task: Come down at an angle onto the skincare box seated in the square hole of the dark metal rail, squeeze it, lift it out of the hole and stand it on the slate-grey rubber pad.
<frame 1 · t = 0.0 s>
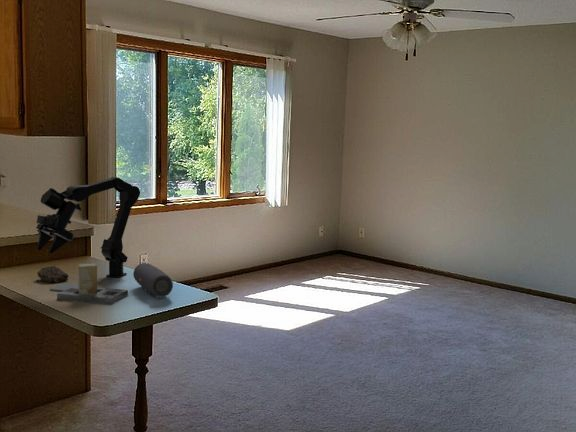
hand: (44, 251, 235), 15 cm above the table, tool tilted 35°, fingers open, 9 cm apart
concrete sample: (52, 280, 251), on the table
rail: (88, 296, 228), on the table
bluetooth speaker: (152, 293, 234), on the table
pad: (67, 288, 238), on the table
skincare box: (88, 297, 228), resting in rail
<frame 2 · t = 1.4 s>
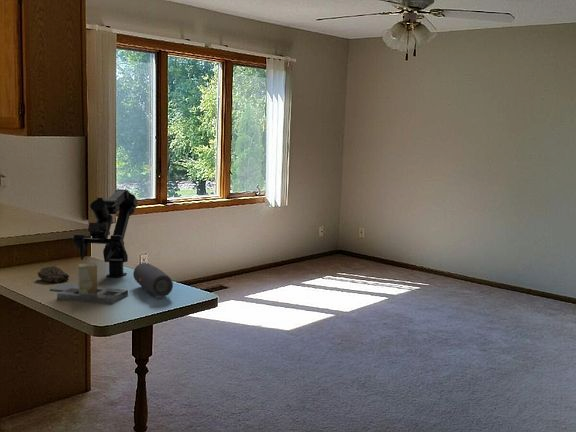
hand: (93, 259, 232), 13 cm above the table, tool tilted 45°, fingers open, 9 cm apart
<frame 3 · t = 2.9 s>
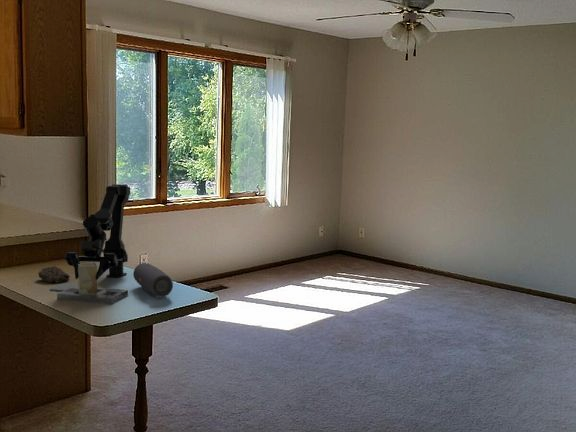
hand: (86, 278, 225), 7 cm above the table, tool tilted 45°, fingers closed on skincare box, 7 cm apart
skincare box: (88, 297, 228), resting in rail, touching gripper
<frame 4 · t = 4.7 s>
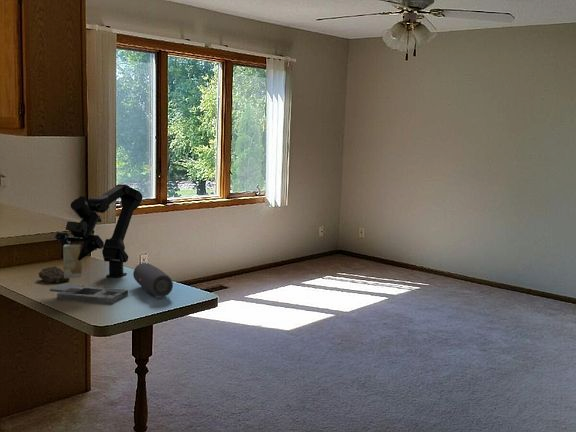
hand: (70, 259, 230), 13 cm above the table, tool tilted 45°, fingers closed on skincare box, 7 cm apart
skincare box: (73, 277, 233), point 6 cm above the table, touching gripper
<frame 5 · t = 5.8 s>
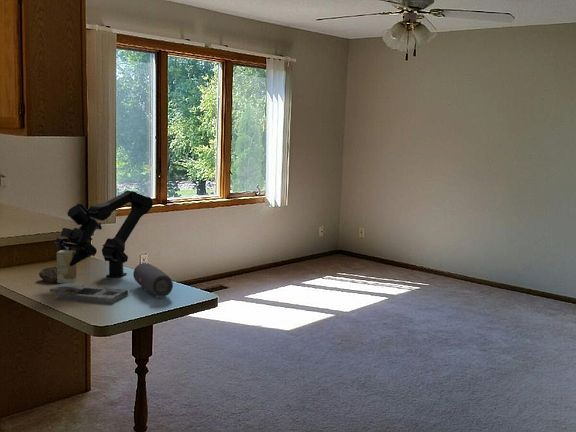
hand: (63, 264, 236), 10 cm above the table, tool tilted 45°, fingers closed on skincare box, 7 cm apart
skincare box: (67, 282, 238), point 2 cm above the table, touching gripper
when the fingers open (9 cm above the table, at t = 6.5 s): skincare box stays where it is, resting on pad.
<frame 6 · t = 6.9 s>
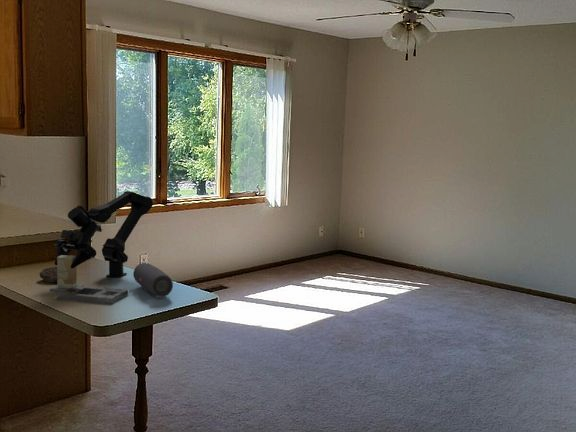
hand: (63, 266, 236), 9 cm above the table, tool tilted 45°, fingers open, 9 cm apart
skincare box: (67, 287, 238), resting on pad
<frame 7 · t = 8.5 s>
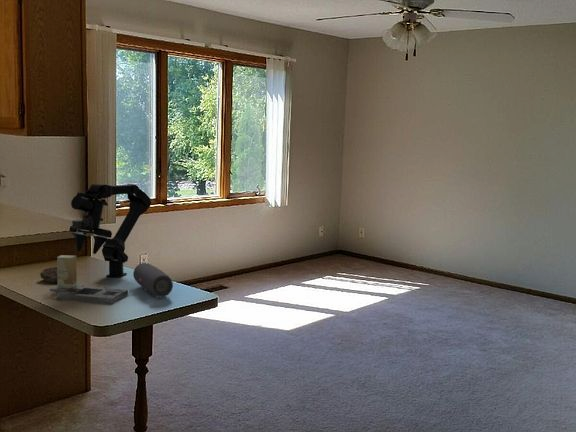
hand: (86, 252, 244), 13 cm above the table, tool tilted 20°, fingers open, 9 cm apart
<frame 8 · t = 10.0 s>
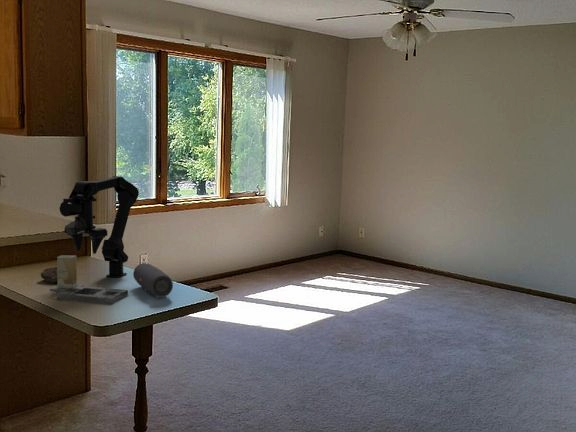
hand: (86, 252, 243), 13 cm above the table, tool pointing down, fingers open, 9 cm apart
at the end: skincare box inside the target area (0.2 cm from its centre), resting on pad; skincare box tilted 0°; the gripper is holding nothing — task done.
